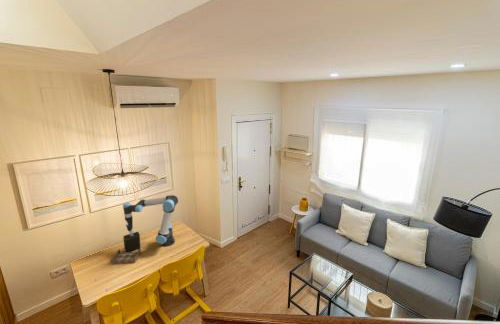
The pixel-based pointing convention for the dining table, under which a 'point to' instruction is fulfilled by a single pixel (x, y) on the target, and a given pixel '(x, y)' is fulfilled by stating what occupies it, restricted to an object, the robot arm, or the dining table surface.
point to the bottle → (131, 241)
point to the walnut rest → (125, 257)
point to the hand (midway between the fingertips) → (131, 235)
